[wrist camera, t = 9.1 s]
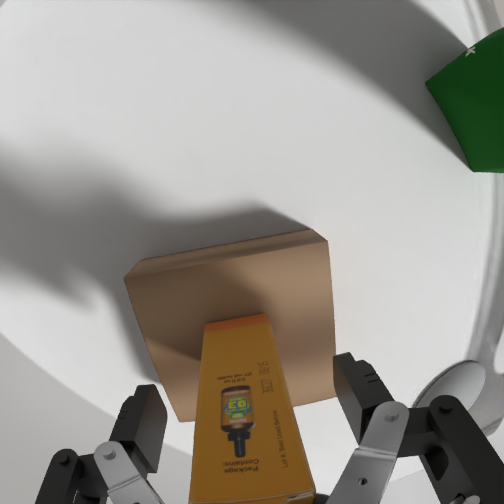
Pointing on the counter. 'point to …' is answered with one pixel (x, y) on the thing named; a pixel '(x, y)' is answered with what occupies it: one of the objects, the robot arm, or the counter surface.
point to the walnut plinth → (239, 310)
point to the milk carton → (476, 101)
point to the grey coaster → (457, 384)
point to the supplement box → (246, 421)
